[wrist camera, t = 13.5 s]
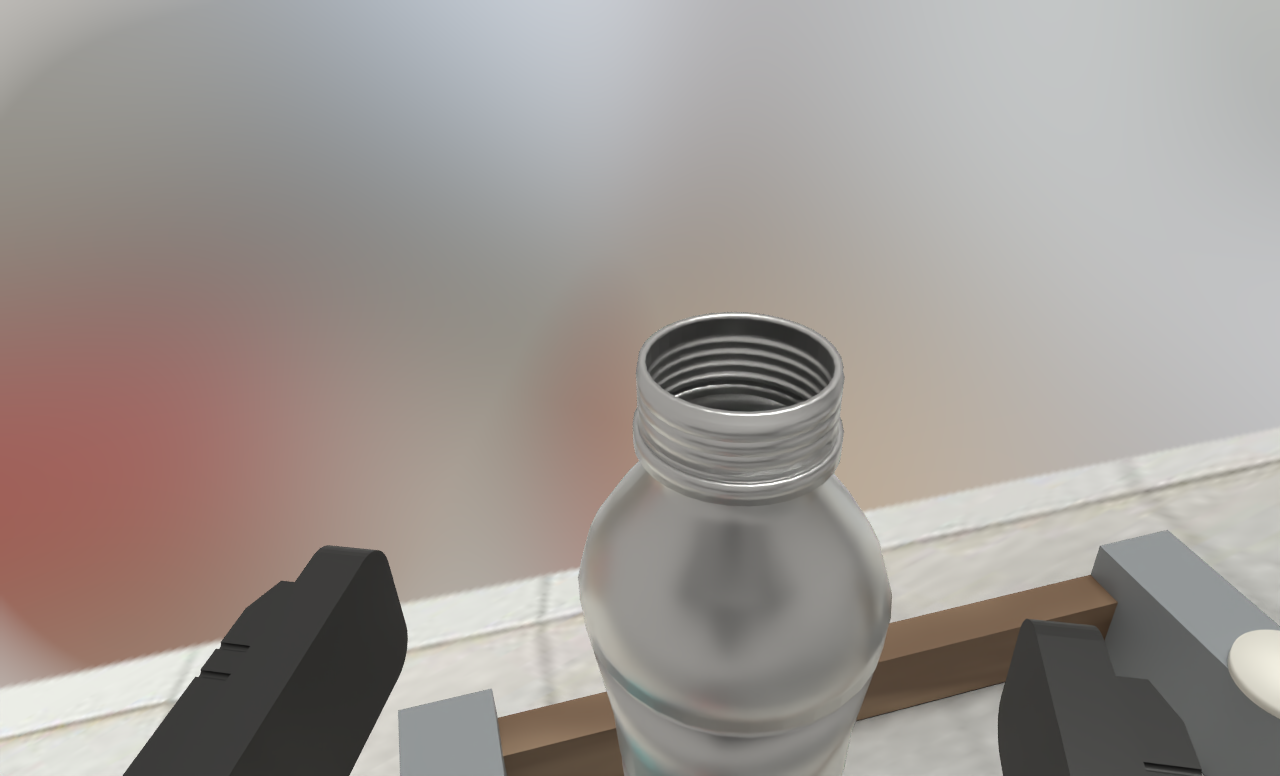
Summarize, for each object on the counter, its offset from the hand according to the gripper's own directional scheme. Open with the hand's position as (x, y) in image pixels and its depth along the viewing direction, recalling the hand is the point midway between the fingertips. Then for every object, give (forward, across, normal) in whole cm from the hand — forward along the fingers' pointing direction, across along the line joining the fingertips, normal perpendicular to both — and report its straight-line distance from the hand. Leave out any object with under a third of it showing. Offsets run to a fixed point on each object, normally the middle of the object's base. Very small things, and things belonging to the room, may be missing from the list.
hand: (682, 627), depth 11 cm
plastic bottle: (+5, 0, +20) cm, 20 cm away
